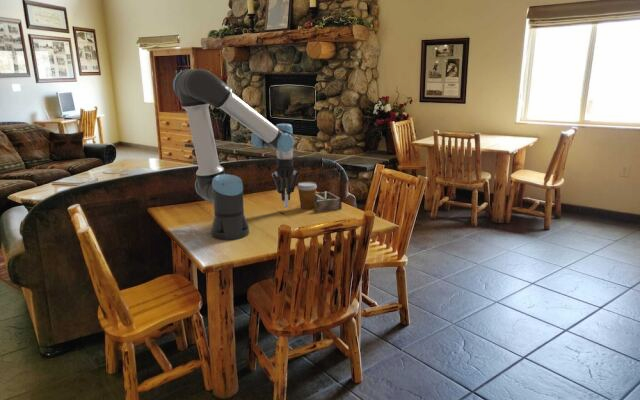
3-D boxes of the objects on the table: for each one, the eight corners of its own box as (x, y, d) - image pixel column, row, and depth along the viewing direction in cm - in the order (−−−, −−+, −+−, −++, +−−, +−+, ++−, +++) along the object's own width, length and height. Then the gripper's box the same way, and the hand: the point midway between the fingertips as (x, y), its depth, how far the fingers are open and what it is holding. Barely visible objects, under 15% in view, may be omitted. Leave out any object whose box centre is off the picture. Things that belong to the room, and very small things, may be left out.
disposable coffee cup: (320, 207, 220) (320, 183, 216) (310, 212, 212) (309, 187, 209) (304, 204, 225) (304, 180, 221) (293, 209, 217) (293, 184, 214)
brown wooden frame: (317, 211, 212) (317, 201, 211) (305, 203, 226) (305, 193, 224) (341, 209, 217) (341, 198, 215) (328, 201, 230) (328, 191, 229)
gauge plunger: (322, 210, 215) (322, 191, 213) (314, 204, 225) (314, 186, 222) (334, 208, 217) (334, 190, 215) (325, 203, 227) (325, 185, 224)
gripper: (273, 160, 202) (275, 210, 208) (300, 158, 206) (301, 207, 213) (268, 157, 208) (270, 206, 215) (295, 155, 213) (296, 203, 219)
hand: (285, 207), depth 214 cm, fingers closed
